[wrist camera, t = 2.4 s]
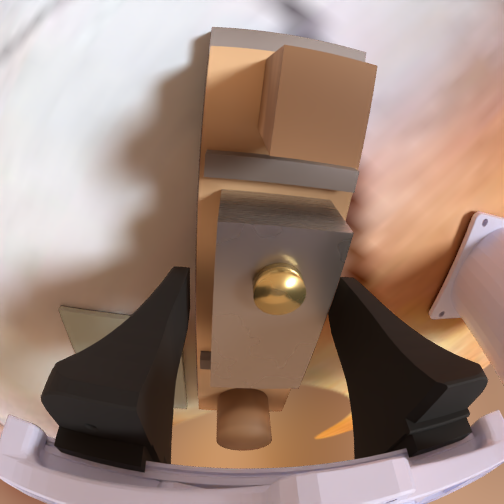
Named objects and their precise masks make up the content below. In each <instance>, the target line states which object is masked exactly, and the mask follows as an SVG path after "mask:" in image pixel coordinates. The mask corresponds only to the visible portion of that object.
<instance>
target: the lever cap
mask: <svg viewBox="0 0 504 504" xmlns="http://www.w3.org/2000/svg"><path fill="white" fill-rule="evenodd" d="M352 237H353V232H352V230H351V229H350V227H349V226H348V224H347V223H346V221H345V220H344V219H343V217H342V216H341V214H340V213H339V211H338V210H337V208H336V207H335V206H334V204H333V203H332V201H331V200H327V199H318V198H310V197H301V196H292V195H282V194H272V193H262V192H251V191H239V190H226V189H221V197H220V205H219V213H218V221H217V236H216V253H215V271H214V291H213V314H212V341H211V378H210V387H225V388H255V389H290V388H299V386H300V384H301V381H302V379H303V377H304V374H305V372H306V369H307V367H308V364H309V362H310V359H311V357H312V354H313V352H314V349H315V346H316V344H317V341H318V339H319V336H320V333H321V330H322V328H323V325H324V322H325V320H326V317H327V314H328V311H329V308H330V305H331V302H332V300H333V297H334V294H335V291H336V288H337V285H338V282H339V279H340V276H341V272H342V269H343V266H344V263H345V260H346V257H347V253H348V250H349V247H350V243H351V240H352Z"/></svg>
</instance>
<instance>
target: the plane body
mask: <svg viewBox="0 0 504 504" xmlns="http://www.w3.org/2000/svg"><path fill="white" fill-rule="evenodd" d="M365 58H366V52H363V51H359V50H356V49H352V48H349V47H345V46H341V45H337V44H333V43H328V42H324V41H319V40H314V39H310V38H304V37H299V36H293V35H287V34H281V33H274V32H266V31H258V30H248V29H237V28H222V27H212V30H211V38H210V46H209V55H208V64H207V74H206V84H205V94H204V105H203V117H202V130H201V145H200V160H199V178H198V200H197V228H196V361H197V388H198V399H199V409H205V410H217V443H218V444H219V445H220V446H222V447H224V448H227V449H231V450H254V449H259V448H262V447H265V446H267V445H269V444H270V443H271V441H272V436H271V426H270V415H269V411H282V409H283V407H284V404H285V402H286V399H287V397H288V394H289V392H290V389H291V388H290V389H255V388H225V387H210V378H211V341H212V314H213V291H214V271H215V253H216V236H217V221H218V213H219V205H220V197H221V189H226V190H239V191H251V192H262V193H272V194H282V195H292V196H301V197H310V198H318V199H327V200H331V201H332V203H333V204H334V206H335V207H336V208H337V210H338V211H339V213H340V214H341V216H342V217H343V219H344V220H346V216H347V212H348V208H349V204H350V201H351V196H352V193H354V192H355V188H356V183H357V179H358V175H359V171H358V167H359V162H360V158H361V153H362V149H363V144H364V139H365V134H366V129H367V124H368V119H369V113H370V108H371V102H372V96H373V91H374V84H375V78H376V72H377V66H376V65H373V64H369V63H366V62H365Z"/></svg>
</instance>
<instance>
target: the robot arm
mask: <svg viewBox="0 0 504 504" xmlns="http://www.w3.org/2000/svg"><path fill="white" fill-rule="evenodd" d="M483 220H484V221H483ZM189 312H190V268H187V267H173V268H172V269H171V271H170V272H169V273H168V275H167V276H166V277H165V279H164V280H163V281H162V282H161V284H160V285H159V286H158V287H157V289H156V290H155V291H154V292H153V293H152V294H151V296H150V297H149V298H148V299H147V300H146V301H145V302H144V303H143V304H142V305H141V306H140V307H139V308H138V309H137V310H136V311H135V312H134V313H133V314H132V315H131V316H130V317H129V318H128V319H127V320H126V321H124V322H123V323H122V324H121V325H120V326H118V327H117V328H116V329H114V330H113V331H112V332H111V333H109V334H108V335H106V336H105V337H104V338H102V339H101V340H99V341H97V342H96V343H94V344H93V345H91V346H89V347H87V348H86V349H84V350H82V351H80V352H78V353H76V354H74V355H72V356H70V357H68V358H66V359H64V360H61V361H59V362H57V363H56V364H55V366H54V368H53V369H52V371H51V373H50V375H49V378H48V380H47V382H46V385H45V387H44V390H43V392H42V395H41V401H42V403H43V405H44V407H45V408H46V410H47V411H48V412H49V414H50V415H51V416H52V418H53V419H54V420H55V421H56V422H57V424H58V425H59V429H58V432H57V436H56V439H54V438H51V437H48V436H47V435H46V434H45V432H44V431H43V430H42V429H41V428H40V427H38V426H37V425H35V424H33V423H31V422H28V421H25V420H23V419H20V418H18V417H15V416H13V415H8V417H7V420H6V423H5V425H4V428H3V431H2V434H1V437H0V479H1V480H3V481H5V482H6V483H8V484H9V485H11V486H13V487H14V488H16V489H18V490H19V491H21V492H23V493H25V494H26V495H29V496H31V497H33V498H35V499H38V500H40V501H42V502H45V503H47V504H427V503H430V502H432V501H434V500H437V499H439V498H441V497H443V496H445V495H448V494H450V493H452V492H454V491H456V490H458V489H460V488H462V487H464V486H466V485H468V484H470V483H472V482H473V481H475V480H477V479H479V478H481V477H483V476H484V475H486V474H487V473H489V472H490V471H492V470H493V469H495V468H496V467H498V466H499V465H501V464H502V463H503V462H504V419H503V417H502V415H501V413H500V411H499V410H496V411H493V412H491V413H489V414H486V415H484V416H483V417H481V418H479V419H478V420H477V421H476V422H475V423H474V424H473V425H472V426H471V427H470V425H469V423H468V421H467V418H466V417H468V416H469V415H470V413H469V410H468V407H469V405H471V404H472V402H474V400H475V399H476V398H477V397H478V396H479V395H480V394H481V393H482V392H483V390H484V389H485V387H486V385H487V382H488V380H487V377H486V375H485V373H484V371H483V369H482V368H481V366H480V365H479V364H478V363H475V362H472V361H470V360H467V359H465V358H462V357H460V356H458V355H456V354H453V353H451V352H449V351H447V350H445V349H444V348H442V347H440V346H438V345H436V344H435V343H433V342H431V341H430V340H428V339H426V338H425V337H423V336H422V335H420V334H419V333H418V332H416V331H415V330H413V329H412V328H411V327H409V326H408V325H407V324H405V323H404V322H403V321H402V320H400V319H399V318H398V317H397V316H396V315H394V314H393V313H392V312H391V311H390V310H389V309H388V308H386V307H385V306H384V305H383V304H382V303H381V302H380V301H379V300H378V299H377V298H376V297H375V296H373V295H372V294H371V293H370V292H369V291H368V290H367V289H366V288H365V287H364V286H363V285H362V284H360V283H359V282H358V281H357V280H356V279H354V278H348V277H340V280H339V283H338V286H337V289H336V292H335V295H334V298H333V301H332V304H331V307H330V309H329V312H328V316H329V322H330V328H331V333H332V336H333V340H334V343H335V346H336V349H337V352H338V355H339V358H340V362H341V365H342V368H343V371H344V374H345V378H346V382H347V386H348V392H349V398H350V404H351V412H352V420H353V432H354V454H355V459H354V460H348V461H342V462H335V463H327V464H319V465H310V466H299V467H285V468H265V469H264V468H261V469H232V468H231V469H230V468H208V467H207V468H206V467H194V466H183V465H173V464H171V440H172V422H173V408H174V397H175V386H176V379H177V373H178V368H179V364H180V359H181V355H182V350H183V346H184V342H185V337H186V333H187V329H188V320H189ZM429 316H430V318H431V319H448V318H462V319H463V321H464V322H465V324H466V325H467V327H468V328H469V330H470V331H471V333H472V334H473V336H474V337H475V339H476V341H477V342H478V344H479V345H480V347H481V348H482V350H483V352H484V353H485V355H486V356H487V358H488V360H489V361H490V363H491V365H492V366H493V368H494V370H495V371H496V373H497V375H498V377H499V378H500V380H501V382H502V384H503V386H504V218H503V217H499V216H495V215H492V214H488V213H484V212H480V211H478V212H476V213H475V214H474V215H473V216H472V218H471V221H470V224H469V226H468V229H467V232H466V234H465V237H464V239H463V241H462V244H461V246H460V249H459V251H458V253H457V256H456V258H455V260H454V262H453V265H452V267H451V269H450V271H449V273H448V275H447V277H446V280H445V282H444V284H443V286H442V288H441V290H440V292H439V294H438V296H437V298H436V299H435V301H434V303H433V305H432V307H431V309H430V311H429Z"/></svg>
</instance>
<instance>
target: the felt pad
mask: <svg viewBox="0 0 504 504" xmlns="http://www.w3.org/2000/svg"><path fill="white" fill-rule="evenodd" d="M59 313H60V315H61V318H62V321H63V323H64V326H65V329H66V331H67V334H68V336H69V339H70V341H71V344H72V346H73V348H74V351H75V353H78V352H80V351H82V350H84V349H86V348H87V347H89V346H91V345H93V344H94V343H96V342H97V341H99V340H101V339H102V338H104V337H105V336H106V335H108V334H109V333H111V332H112V331H113V330H114V329H116V328H117V327H118V326H120V325H121V324H122V323H123V322H124V321H126V320H127V319H128V318H129V317H130V315H122V314H114V313H106V312H99V311H91V310H85V309H78V308H71V307H65V306H61V307H60V308H59ZM174 408H182V409H187V399H186V389H185V379H184V368H183V356H182V355H181V359H180V364H179V368H178V373H177V379H176V386H175V397H174Z"/></svg>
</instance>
